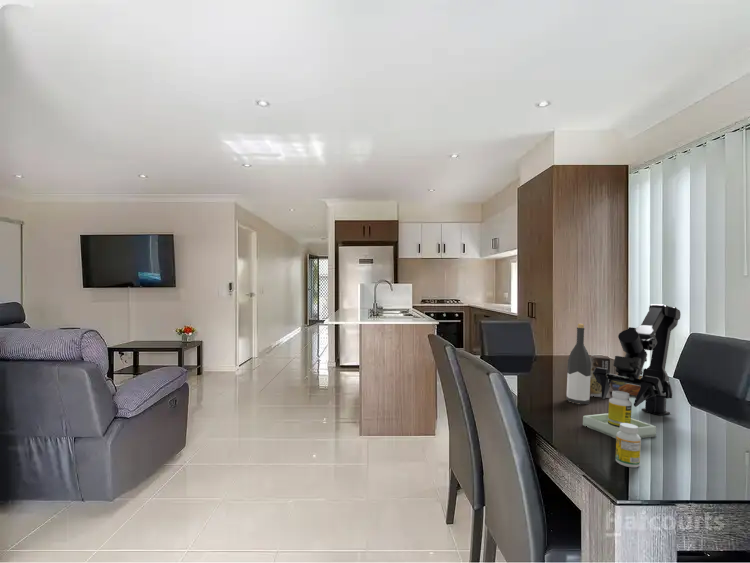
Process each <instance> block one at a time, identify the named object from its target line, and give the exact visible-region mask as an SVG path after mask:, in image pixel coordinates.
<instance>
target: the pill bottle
mask: <svg viewBox="0 0 750 563" xmlns="http://www.w3.org/2000/svg"><path fill="white" fill-rule="evenodd" d="M611 396H612V397H609V398H608V409H607V410H608V424H609V425H612V426H615V427H617V428H620V423H629V424H631V418H632V409H633V408H632V404H633V403H632V402H631V400H629V399H630V395H629V393H627V392H623V391H614V390H612V392H611Z"/></svg>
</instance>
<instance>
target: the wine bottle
mask: <svg viewBox="0 0 750 563" xmlns="http://www.w3.org/2000/svg"><path fill="white" fill-rule="evenodd" d="M584 326H585V325H584V323H578V324H577V327H576V343H575V345H574V347H573V348H572V350H571V351H570V354H569V356H568V359H567V376H566V377H567V379H566V401H567V400H568V401H571V402H574V403H580V404H579V405H581V404H586V405H589V404H590V397H591V396H590V376H591V361H590V357H589V355H590V354H589V352H588V350H587V348H586V347H585V346H586V345H585V344H584V342H585V341H584V340H585V327H584ZM568 401H567V402H568ZM574 403H573V404H574ZM588 403H589V404H588Z"/></svg>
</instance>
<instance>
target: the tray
mask: <svg viewBox="0 0 750 563" xmlns="http://www.w3.org/2000/svg"><path fill="white" fill-rule="evenodd" d="M631 424H633V425H636V426H638V433H637V434H638V435H639V436H640V438H641V439H646V438H653V437H654V438H655V437H657V426H656V425H653V424H651V423H647V422H645V421H641V420H638V419H635V418H632V417H631ZM582 426H584V427H586V426H587V428H589V429H591V430H594V431H597V432H599V433H601V434H604V435H606V436H609V437H612V438H613V439H616V434H617V432H619V431H621V430H620V428H617V427H615V426H612V425H609V424H608V413H599V414H586V415H583V416H582Z"/></svg>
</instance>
